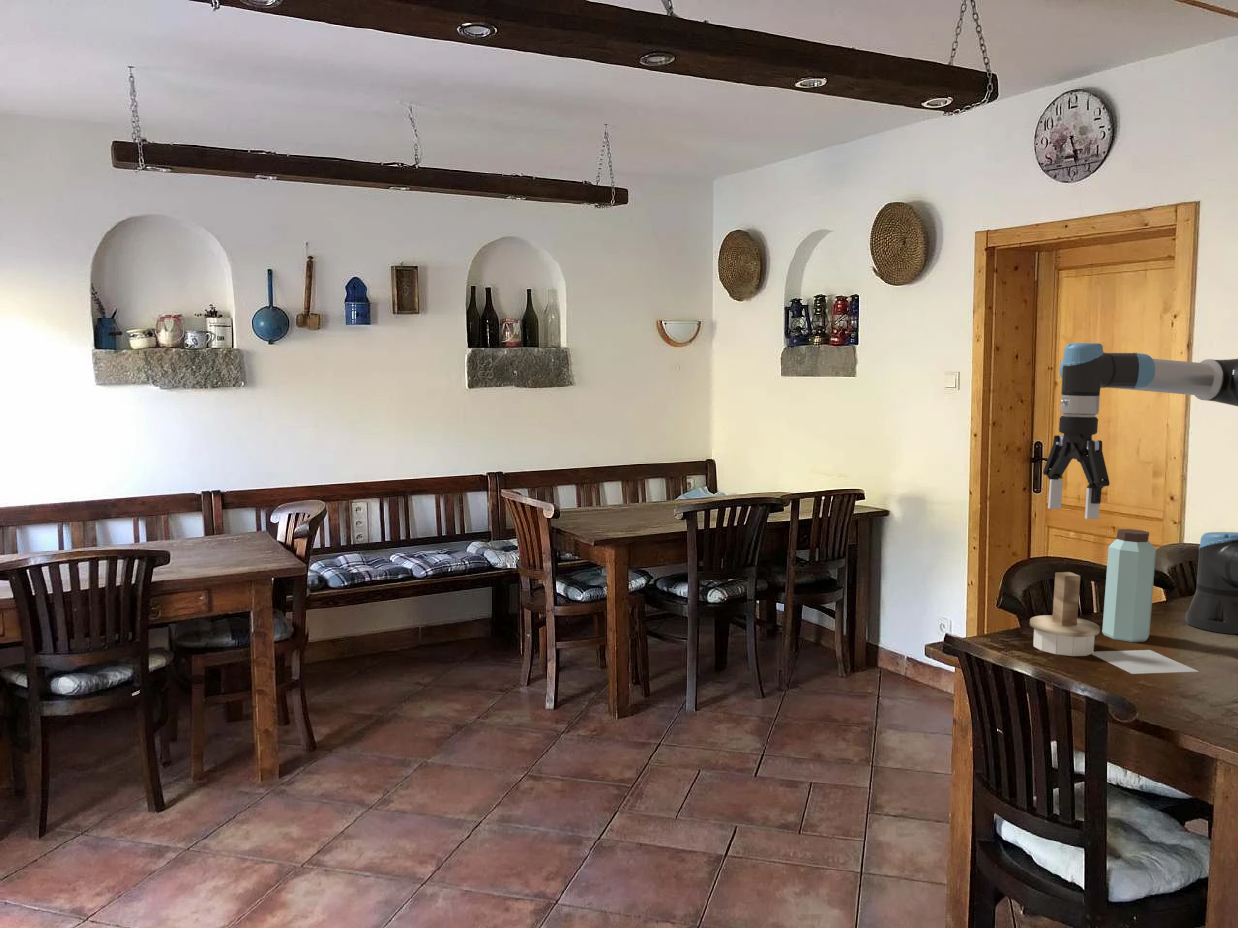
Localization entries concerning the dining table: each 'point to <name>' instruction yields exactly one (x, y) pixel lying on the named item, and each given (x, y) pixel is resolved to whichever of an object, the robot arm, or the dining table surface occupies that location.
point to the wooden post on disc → (1065, 610)
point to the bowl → (1063, 644)
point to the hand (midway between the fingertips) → (1072, 513)
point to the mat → (1142, 662)
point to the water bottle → (1129, 586)
